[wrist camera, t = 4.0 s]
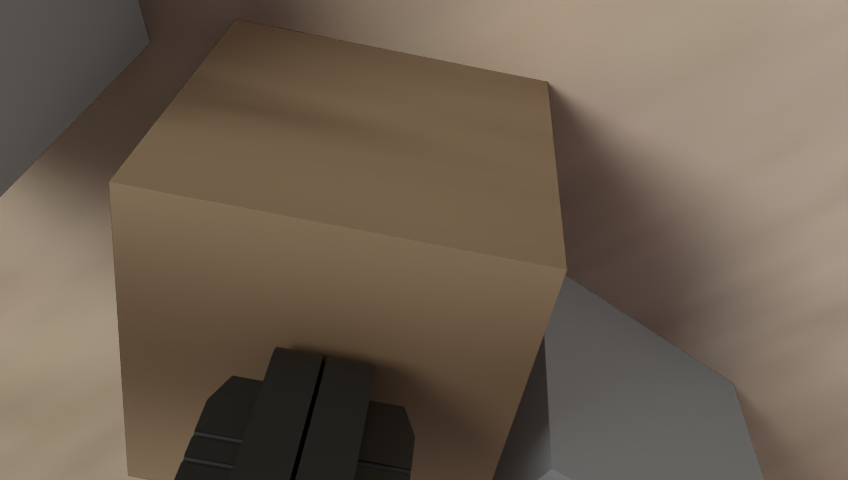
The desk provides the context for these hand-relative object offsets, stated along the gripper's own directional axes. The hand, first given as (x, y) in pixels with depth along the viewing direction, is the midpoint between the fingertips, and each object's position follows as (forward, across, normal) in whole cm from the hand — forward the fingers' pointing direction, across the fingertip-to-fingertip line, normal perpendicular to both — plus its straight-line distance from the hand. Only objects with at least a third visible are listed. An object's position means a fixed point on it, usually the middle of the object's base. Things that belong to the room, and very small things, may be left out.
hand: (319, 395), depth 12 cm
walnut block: (+6, 0, 0) cm, 6 cm away
